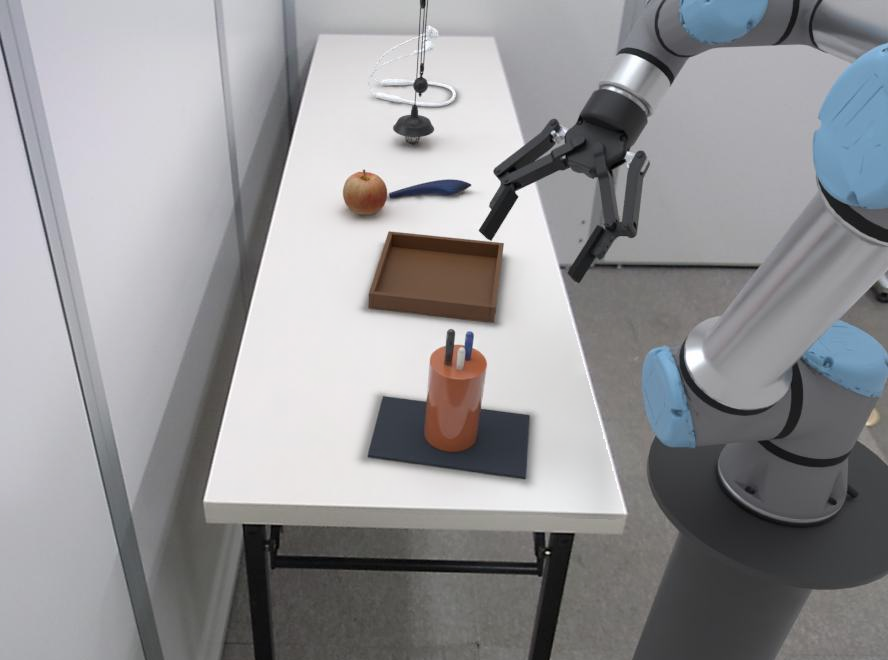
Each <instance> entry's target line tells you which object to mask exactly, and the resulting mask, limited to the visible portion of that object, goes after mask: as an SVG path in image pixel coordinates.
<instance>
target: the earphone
mask: <svg viewBox="0 0 888 660" xmlns="http://www.w3.org/2000/svg"><path fill="white" fill-rule="evenodd" d="M439 34H440V33H439V31H438V29H436V28H435V27H433V26H432V25H426V40H425V32H423V46H422V54H424V40H425V53H431V52H433V51H434V49H435V44H434V43H433V41H431V40H437V39H438V38H439ZM418 38H419V35H418V36H415V37H413V38H410V39H408V40H406V41H404V42H401V43H399V44H397V45H395V46H394V47H392V48H390V49H389V50H387V51H386V52H384V53H383V54H382V55H381V56H380V58H379V59H378V60H377V61H376V64H375V65H374V67H373V69H372V72H371V74H370V75H369V78H368V80H367V87H368V89H369V91H370V93H371V94H373V95H374V96H375V98H376V99H380V100H384V101H387V102H388V101H389V102H394V103H405V104H410V105H414V104H415V100H411V99H405V98H403V97H400V96H398V95H393V94H388V93H384V92H379V91H377V92H376V93H375V92H374V91H373V90H372V89H371V87H370V81H371V79H372V78H373V79H374V80H375V82H376V83H379V84H381V86H385V87H386V86H387V87H388V86H408V85H413V84H414V81H415V80H409V79H401V78H391V79H390V78H386V79H381V80H378V79H376V77H375V73H376V71H377V70H379V69H380V68H381V67H383V66H385V65H388V64H390V63H393V62H395V61H398V60H401V59H403V58H407V57H409V56H418V49H416V50H414V51H413V52H412V53H408V54H405V55H402V56H399V57H395V58H393V59H390V60H388V61H386V62H383V63H382V64H380V65H378V64H379V62H381V60H382V59H383V58H384V57H385V56H386V55H387V54H388V53H390V52H391V51H393V50H395V49H397V48H398V47H400V46H402V45H405V44H407V43H409V42H411V41H414V40H418ZM420 38H421V39H420ZM420 38H419V39H420V44H421V45H422V33H420ZM429 38H430V39H431V40H429ZM419 55H421V48H419ZM427 83H428V86H435V87H441V88H445V89H447V90H449V91H450V92H451V93H452V95H451V98H449V100H446V101H442V102H423V101H416V105H417V106H422V107H444V106H447V105H449V104H452V103H453V102H454V101H455V99H456V96H457V93H456V90H455V88H453V87H452V86H451V85H448V84H446V83H443V82H438V81H437V82H436V81H430V80H429V81H428V80H427Z"/></svg>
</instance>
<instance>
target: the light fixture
mask: <svg viewBox="0 0 888 660" xmlns="http://www.w3.org/2000/svg"><path fill="white" fill-rule="evenodd" d="M419 6H420V7H419V23H418V36H419V38H417V41H418V42H417V50H418V55H417V57H416V58H417V61H416V76H415V80H413V81H414V84H412V87H413V90H414V101H415V104H412V106H411V110H410V114H406V115H402V116H400V117H399V118H398V119H397V121H396V122H395V124H394V125H393V127H392V130H393V132H394V133H396V134H397V135H400V136H402V137H405V138H404V139H405V141H406V142H407V143H408V144H410V145H412V146H415V145H418V143H419V141H420V139H421V138H422V137H427V136H430V135H432V134H433V133H434V132H435V127H434V125H433V123H432V121H431V120H430V119H429V118H428V117H426V116H424V115H421V114H419V109H418V106H419V105H416V102H417V94H418V96H419V98H421V97H422V96H423V94H424V93H425V92H427V91H428V88H429V85H428V83H427V81H428V80H427V78H426V77H423V75H424V73H425V72H424V71H425V57H426V56H425V55H426V52H425V40H426V27H427V22H428V9H429V0H419ZM422 10H423V14H422ZM421 15H423V17H422V16H421ZM421 19H422V33H421ZM423 33H425V40H424V53H422V49H423V38H424V37H423ZM421 34H422V38H421V37H420V36H421ZM420 38H421V39H422V44H421V47H420ZM420 49H421V54H419V50H420ZM419 56H420V64H419ZM422 61H423V62H422ZM418 70H419V71H418ZM418 72H419V76H418ZM412 139H415V140H414V141H413V140H412Z"/></svg>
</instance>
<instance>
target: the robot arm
mask: <svg viewBox="0 0 888 660" xmlns="http://www.w3.org/2000/svg"><path fill="white" fill-rule="evenodd" d="M797 45H798V46H799V45H800V46H808V47H811V48H813V49H815V50H818V51H820V52H822V53H825V54H829V55H831V56H833V57H835V58H837V59H840V60H842V61H845V62H846V63H849V64H850V65H849V66H848V67H847V68H845V70H844V71H843V72H842V73H841V74H840V75H839V76H838V77H837V79H836V80H835V82H834V83H833V84H832V86H831V88H830V89H829V91H828V93H827V95H826V96H825V98H824V100H823V103H822V105H821V107H820V109H819V111H818V112H819V113H818V115H817V119H818V120H820V127H819V128H818V129H816V130H814V132H813V138H812V162H813V167H814V170H815V182H816V186H817V192H816V193H815V194H814V195H813V197H812V198H811V199H810V201H809V202H808V203H807V205H806V206H805V207H804V208H803V210H802V211H801V212H800V214H799V215H798V217H797V218H796V219H795V220H794V222H793V223H792V224H791V225H790V226H789V228H788V229H787V230H786V232H785V233H784V234H783V236H782V237H781V238H780V239H779V241H778V242H777V244H775V246H774V247H773V249H772V250H771V251H770V252H769V254H768V255H767V256H766V258H765V259H764V260H763V261H762V262H761V264H760V265H759V267H758V268H757V269H756V270H755V272H754V273H753V274H752V276H751V277H750V278H749V279H748V281H747V282H746V283H745V285H744V286H743V287H742V289H741V290H740V291H739V292H738V293H737V295H736V296H735V297H734V299H733V300H732V302H731V303H730V304H729V305H728V306H727V307H726V309H725V311H724V312H723V313H722V314H721V315H718V316H713V317H710V318H707V319H705V320H702V321H701V322H700V323H698V324H697V325H696V326H695V327H694V328H693V329H692V330H691V331H690V332H689V333H688V335H687V336H686V338H685V339H684V340H683V341H682V343H681V344H678V345H675V346H674V345H673V346H669V345H668V344H667V345H665V344H664V345H662V346H659V347H655V348H653V349H651V350H649V352H648V353H647V354H646V356H645V358H644V361H643V364H642V371H641V391H642V400H643V406H644V411H645V414H646V418H647V420H648V423H649V426H650V428H651V430H652V432H653V434H654V435H655V436H656V437H657V438H658V439H659V440H660V441H661V442H662V443H663V444H665V445H667V446H669V447H690V448H691V447H692V448H695V447H696V446H707V445H718V444H726V446H725V447H724V448H723V450H722V451H721V453H720V456H719V459H718V461H717V464H716V477H717V480H718V483H719V485H720V487H721V488H722V490H723V491H724V493H725V494H726V495H727V496H728V497H729V498H730V499H731V500H732V501H733V502H734V503H735V504H736V505H737V506H739V507H740V508H742V509H743V510H744V511H746V512H748V513H749V514H751V515H753V516H755V517H757V518H759V519H762V520H764V521H767V522H770V523H773V524H777V525H781V526H786V527H795V528H807V527H814V526H819V525H822V524H825V523H827V522H829V521H830V520H832V519H833V518H834V517H835V516H836V515H837V514H838V513H839V511H840V509H841V507H842V505H843V503H844V501H845V498H846V494H849V495H850V496H851V497H852V498H856V497H857V496H858V495H859V492H857V491H856V490H855V489H854V488H852V487H851V486H850V485H849V484H848V483H847V482H848V457H849V454H850V453H851V451H852V449H853V447H854V445H855V443H856V441H858V440H859V437H860V435H861V434H862V431H863V429H864V428H865V426H866V424H867V423H868V420H869V418H870V416H871V414H872V413H873V411H874V409H875V407H876V405H877V403H878V402H879V399H880V397H882V395H883V394H884V391H885V386H886V385H885V384H886V382H887V380H888V352H887V351H886V349H885V347H884V346H883V345H882V344H881V343H880V342H879V341H877V339H876V338H875V337H873V336H872V335H870V334H869V333H867V332H866V331H864V330H863V329H861V328H859V327H857V326H855V325H852V324H850V323H848V322H846V321H843V320H840V319H841V318H842V317H843V316H844V315H845V314H846V313H847V312H848V311H849V310H850V309H851V308H852V307H853V306H854V305H855V304H856V303H857V302H858V301H859V300H860V299H861V298H862V297H863V296H864V295H865V294H866V292H868V291H869V290H870V288H872V287H873V286H874V285H875V284H876V282H878V281H879V279H881V278H882V277H883V276H884V274H885V273H887V271H888V0H647V2H646V5H645V7H644V9H643V11H641V14H640V16H639V17H638V19H637V21H636V22H635V24H634V25H633V27H632V28H631V30H630V32H629V34H628V36H627V37H626V39H625V40H624V43H623V44H622V45H621V47H620V48H619V50H618V52H617V54H616V55H615V56H614V58H613V59H612V61H611V63H610V64H609V66H608V67H607V69H606V71H605V72H604V74H602V77H601V78H600V80H599V82H598V83H597V90H596V89H595V90H594V91H593V92H592V93H591V95H590V97H589V98H588V100H587V101H586V103H585V104H584V106H583V108H582V109H581V111H580V112H579V115H578V118H577V120H576V122H575V124H574V125H572V126H571V127H570V128H568V127H566V126H564V125H562V124H560V121H559V120H558V119H557V118H552V119H549V121H548V122H547V124H546V125H545V127H544V128H543V129H542V130H541V131H540V132H539V133H538V134H536V136H534V137H533V138H532V139H530V140H529V141H528V142H526V143H525V144H524V145H523V146H521V147H520V148H519V149H518V150H516V151H514V153H512V154H511V155H510V156H508V157H507V158H506V159H504V160H503V161H502V162H501V163H499V164H498V165H496V166H495V167H494V168H493V175H494V176H495V177H496V178H497V179H498V181H499V182H500V184H499V187H498V189H497V190H496V192H495V193H494V195H493V197H492V198H491V200H490V201H489V205H488V207H489V208H490V211H489V213H488V215H486V217H485V219H484V221H483V222H482V224H481V226H480V227H479V229H478V231H479V233H480V234H481V235H482V236H483V237H484V238H485V239H486V240H489V242H493V239H494V237H496V235H497V233H498V231H499V230H500V228H501V226H502V225H503V223H504V221H505V219H506V218H507V217H508V216H509V213H510V211H511V210H512V209H513V207H514V205H515V204H516V202H517V200H518V199H519V195H518V194H517V193H516V192H517V191H520V190H522V189H523V188H526V187H527V186H530V185H532V184H534V183H536V182H539V181H540V180H542V179H544V178H547V177H548V176H551V175H553V174H555V173H557V172H558V171H562V172H563V171H566V170H568V169H571V171H572V172H575V173H577V174H584V175H585V176H586V177H587V178H589V179H592V180H594V179H596V178H597V179H598V185H599V186H598V187H599V192H600V197H601V198H600V199H601V206H602V213H603V219H604V220H603V221H604V222H603V223H602V224H603V226H604V227H603V226H600V225H598V224H596V226H595V228H593V231H592V233H591V234H590V236H589V238H588V239H587V241H586V242H585V243H584V245H583V247H582V248H581V250H580V251H579V253H578V255H577V256H576V258H575V259H574V261H573V262H572V264H571V266H570V267H569V269H568V271H567V272H566V274H567V275H568V276H569V277H570V278H571V279H572V280H573V282H576V283H577V284H580V283H581V282H582V280H583V278H584V277H585V275H586V274H587V272H588V271H589V269H590V267H591V266H592V265H593V262H594V261H595V259H597V260H599V261H601V260H602V259H604V258H605V256H606V254H607V253H608V252H609V250H610V248H611V247H612V245H613V243H614V242H615V240H617V238H619V237H627V238H629V239H634V238H635V237H636V236H637V235H638V229H639V219H640V210H641V202H642V195H643V194H642V193H643V183H644V178H645V176H646V174H647V173H648V171H649V168H650V165H651V162H650V160H649V158H648V155H647V154H646V152H645V151H644V150H637V151H636V152H633V151H630V150H631V148H632V147H633V146H634V145H635V144H636V143H637V141H638V139H639V138H640V137H641V135H642V133H643V131H644V129H645V128H646V126H647V125H648V123H649V121H648V118H650V117H652V116H653V115H654V113H655V112H656V110H657V109H658V107H659V105H660V103H661V102H662V100H663V99H664V97H665V96H666V94H667V92H668V91H669V90H670V87H672V84H673V83H674V81H675V80H676V78H677V77H678V75H679V74H680V72H681V70H682V69H683V68H684V66H685V65H686V63H687V62H688V60H689V59H690V58H693V57H696V56H698V55H700V54H702V53H705V52H707V51H709V50H713V49H722V48H745V47H746V48H747V47H748V48H749V47H770V46H771V47H772V46H773V47H774V46H775V47H776V46H797ZM562 140H564V144H561V143H562ZM556 144H558V145H559V144H561V145H560V146H557V147H555V145H556ZM553 147H555V148H554V149H552V148H553ZM551 149H552V150H551ZM550 150H551V151H550ZM549 151H550V153H548V152H549ZM546 153H548V154H547V155H545V154H546ZM563 157H564V158H563ZM624 164H625V167H626V169H627V173H626V182H625V190H624V191H625V192H624V200H623V210H622V216H621V217H622V218H621V221H620V216H619V209H618V202H617V195H616V188H615V185H616V183H615V176H614V170H615V169H617V168H619V167H621V166H623V165H624Z"/></svg>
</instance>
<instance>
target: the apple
mask: <svg viewBox="0 0 888 660" xmlns="http://www.w3.org/2000/svg"><path fill="white" fill-rule="evenodd" d="M342 197H343V201H344V204H345V205H346V207H347V208H348V210H350V211H351V212H353V213H355V214H357V215H367V216H368V215H369V216H370V215H374V214H376V213H378V212H379V211H381V210H382V209H383V208H384V206H385V204H386V202H387V198H388V188H387V185H386V183H385V181H384V180H383V178H381V177H380V176H379V175H378V174H375V173H372V172H370V171H366V169H362V171H357V172H355V173H353V174H351V175H350V176H349V177H347V179H346V180H345V182H344V185H343V187H342Z"/></svg>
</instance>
